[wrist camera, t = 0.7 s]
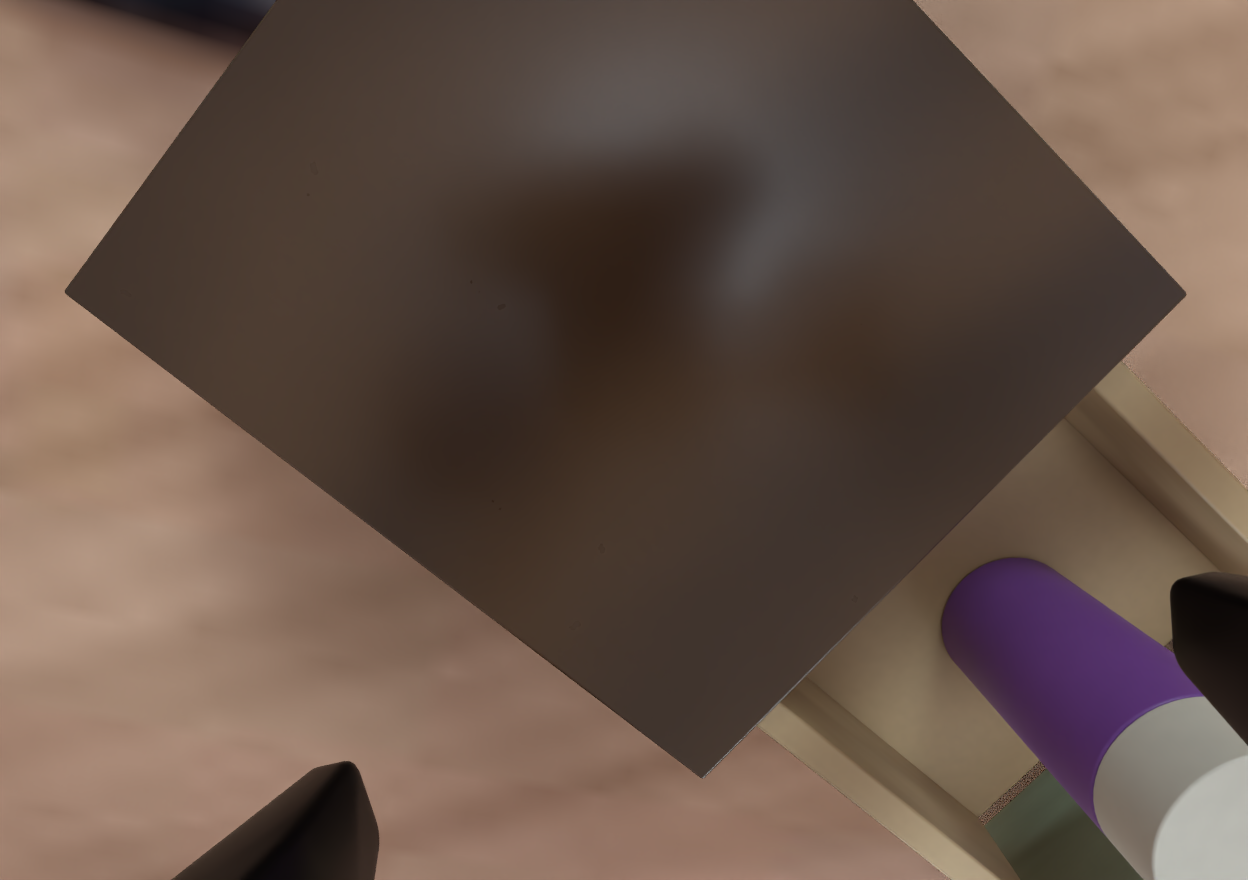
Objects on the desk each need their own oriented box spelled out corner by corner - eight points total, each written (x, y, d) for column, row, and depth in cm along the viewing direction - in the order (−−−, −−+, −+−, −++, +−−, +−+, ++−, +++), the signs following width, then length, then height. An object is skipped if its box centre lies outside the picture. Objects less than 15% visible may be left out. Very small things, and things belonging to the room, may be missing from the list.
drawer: (1386, 673, 24) (1578, 777, 19) (1074, 945, 26) (1180, 1099, 21) (953, 238, 21) (1059, 236, 16) (628, 587, 22) (638, 677, 18)
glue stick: (1048, 689, 22) (1315, 948, 14) (924, 668, 22) (1123, 921, 14) (1090, 568, 22) (1399, 768, 13) (962, 545, 21) (1197, 736, 13)
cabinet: (1013, 279, 22) (1190, 293, 15) (672, 636, 24) (702, 781, 17) (566, -172, 19) (554, -387, 12) (223, 277, 21) (60, 292, 15)
